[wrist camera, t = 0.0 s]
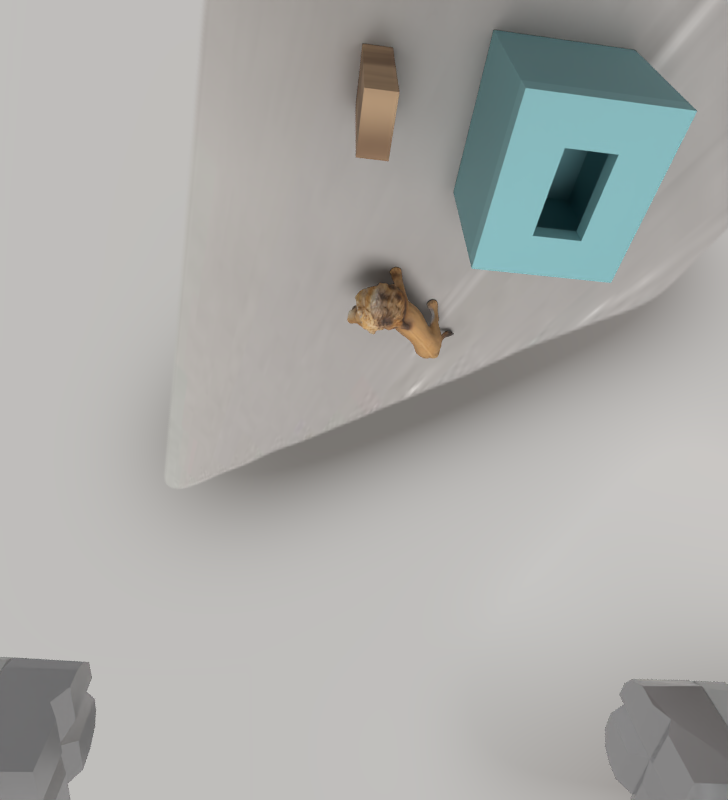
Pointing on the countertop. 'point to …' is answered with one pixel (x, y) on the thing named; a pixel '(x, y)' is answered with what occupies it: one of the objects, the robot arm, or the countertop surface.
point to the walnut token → (376, 102)
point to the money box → (564, 156)
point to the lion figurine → (398, 315)
